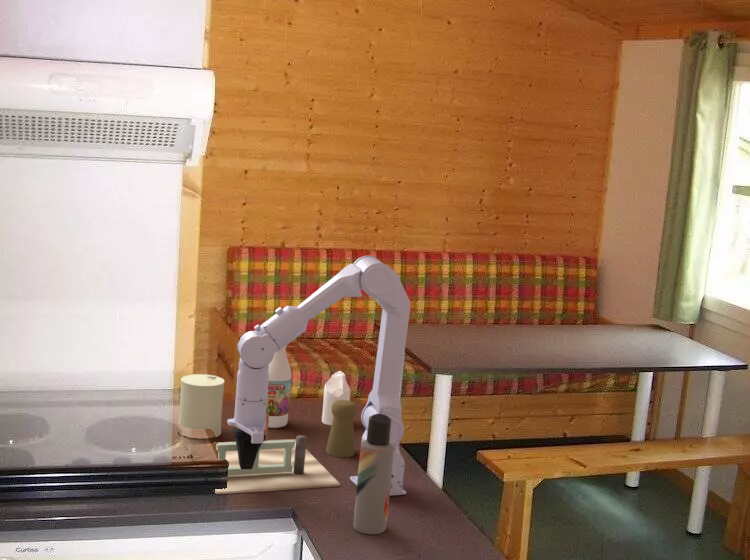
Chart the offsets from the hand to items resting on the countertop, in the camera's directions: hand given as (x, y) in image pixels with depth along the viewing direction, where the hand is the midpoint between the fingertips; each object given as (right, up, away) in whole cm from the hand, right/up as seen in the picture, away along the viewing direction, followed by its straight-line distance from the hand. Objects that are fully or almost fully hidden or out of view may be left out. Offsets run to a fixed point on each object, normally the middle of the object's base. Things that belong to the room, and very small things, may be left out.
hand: (245, 468), depth 185 cm
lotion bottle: (+23, -8, -13) cm, 28 cm away
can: (-14, +2, +28) cm, 31 cm away
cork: (+17, -1, +24) cm, 29 cm away
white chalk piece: (+15, +2, +43) cm, 46 cm away
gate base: (+1, -2, +12) cm, 12 cm away
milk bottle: (0, +3, +38) cm, 38 cm away
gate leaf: (+1, -2, +5) cm, 5 cm away
